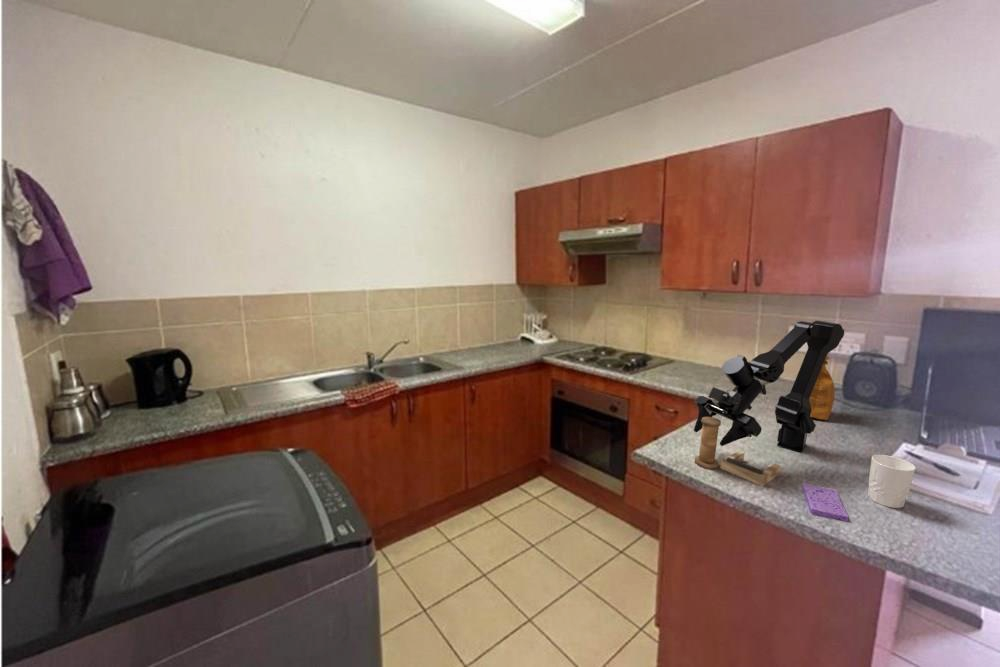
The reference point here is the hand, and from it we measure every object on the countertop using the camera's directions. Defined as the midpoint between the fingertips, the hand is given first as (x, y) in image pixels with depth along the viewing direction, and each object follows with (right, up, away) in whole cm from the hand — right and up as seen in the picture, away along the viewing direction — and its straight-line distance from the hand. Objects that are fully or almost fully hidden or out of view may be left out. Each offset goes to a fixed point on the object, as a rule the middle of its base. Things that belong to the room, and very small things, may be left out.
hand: (707, 437), depth 123 cm
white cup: (+36, -12, -15) cm, 41 cm away
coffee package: (+57, -1, +39) cm, 69 cm away
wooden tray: (+10, -9, -2) cm, 14 cm away
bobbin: (0, -8, +2) cm, 8 cm away
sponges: (+20, -12, -17) cm, 29 cm away
